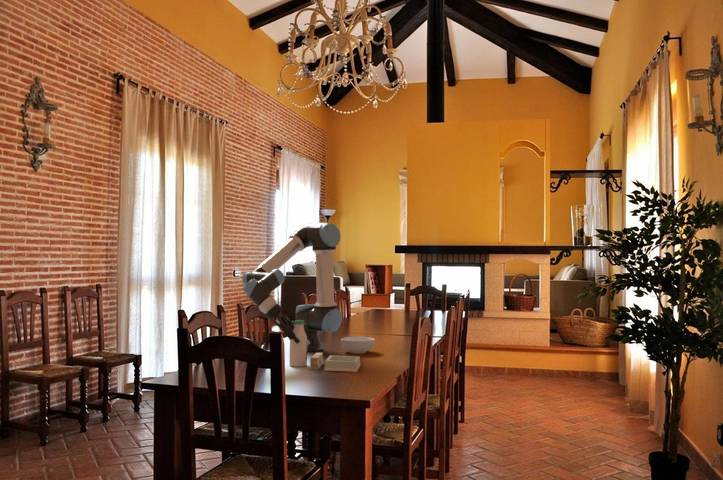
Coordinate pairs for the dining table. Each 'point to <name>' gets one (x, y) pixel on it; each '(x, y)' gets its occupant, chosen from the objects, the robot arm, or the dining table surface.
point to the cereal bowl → (357, 344)
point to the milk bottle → (296, 354)
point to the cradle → (342, 363)
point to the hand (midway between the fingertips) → (306, 346)
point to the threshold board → (316, 361)
